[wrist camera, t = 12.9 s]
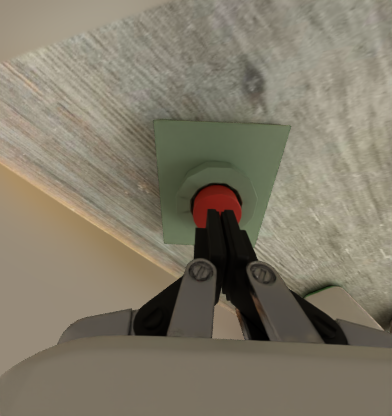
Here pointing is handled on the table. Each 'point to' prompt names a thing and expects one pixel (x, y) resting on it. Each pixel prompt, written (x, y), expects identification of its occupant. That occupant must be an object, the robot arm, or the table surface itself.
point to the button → (215, 203)
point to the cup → (341, 306)
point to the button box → (215, 170)
